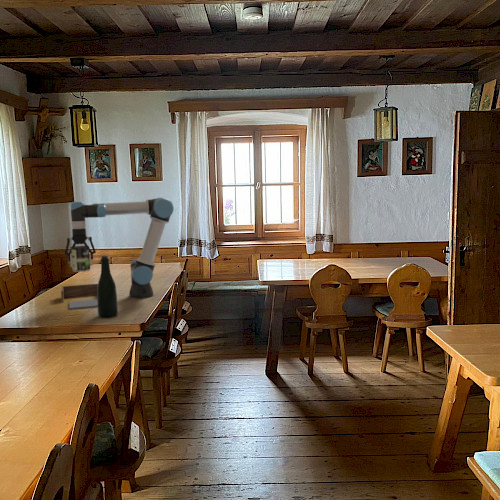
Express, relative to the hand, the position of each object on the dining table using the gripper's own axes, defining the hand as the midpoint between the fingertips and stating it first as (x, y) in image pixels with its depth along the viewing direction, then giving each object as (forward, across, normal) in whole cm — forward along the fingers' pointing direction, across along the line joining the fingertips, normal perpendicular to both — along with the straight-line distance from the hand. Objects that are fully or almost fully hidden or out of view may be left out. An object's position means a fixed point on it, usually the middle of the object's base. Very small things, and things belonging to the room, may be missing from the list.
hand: (81, 265), depth 299 cm
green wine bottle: (+24, -13, +31) cm, 41 cm away
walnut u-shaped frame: (+24, 0, -20) cm, 31 cm away
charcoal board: (+24, 0, 0) cm, 24 cm away
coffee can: (+3, 0, 0) cm, 3 cm away
